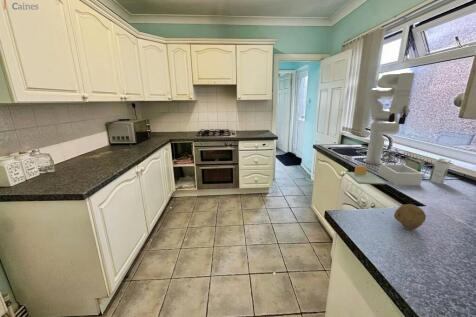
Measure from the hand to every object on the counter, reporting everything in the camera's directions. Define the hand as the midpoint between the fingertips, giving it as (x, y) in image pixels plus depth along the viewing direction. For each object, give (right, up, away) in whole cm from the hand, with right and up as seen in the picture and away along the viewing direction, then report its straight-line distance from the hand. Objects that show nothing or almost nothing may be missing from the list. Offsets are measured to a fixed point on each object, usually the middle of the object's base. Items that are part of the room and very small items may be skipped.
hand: (395, 123), depth 130 cm
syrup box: (+20, -37, -5) cm, 42 cm away
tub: (-1, -36, -3) cm, 36 cm away
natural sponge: (-32, -49, -47) cm, 75 cm away
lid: (-20, -35, -1) cm, 41 cm away
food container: (+19, -32, +9) cm, 39 cm away
